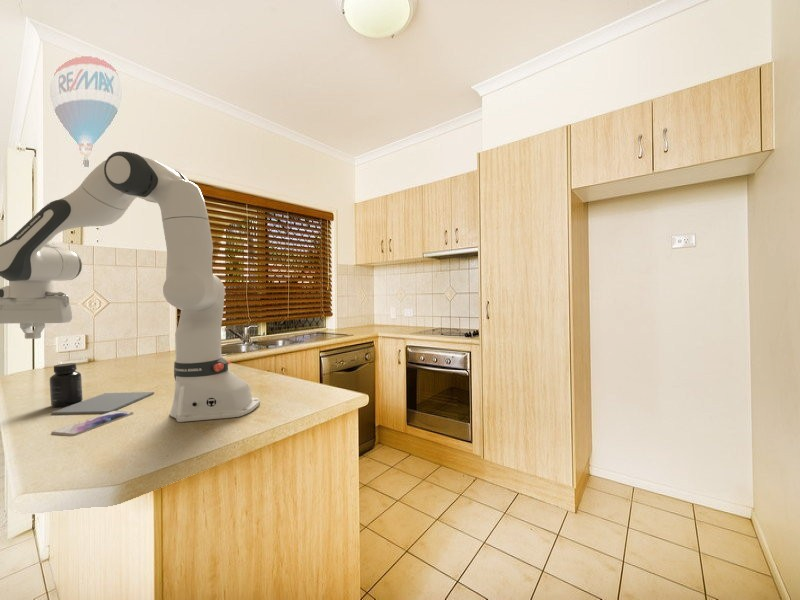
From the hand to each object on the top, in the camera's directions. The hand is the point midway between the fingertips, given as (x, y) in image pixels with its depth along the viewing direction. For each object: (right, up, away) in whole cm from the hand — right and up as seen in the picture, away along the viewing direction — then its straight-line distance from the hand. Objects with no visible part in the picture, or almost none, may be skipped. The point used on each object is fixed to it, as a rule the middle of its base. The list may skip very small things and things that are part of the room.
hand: (32, 338), depth 101 cm
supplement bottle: (+9, -20, +1) cm, 22 cm away
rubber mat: (+21, -20, +1) cm, 29 cm away
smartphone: (+32, -21, -14) cm, 40 cm away
